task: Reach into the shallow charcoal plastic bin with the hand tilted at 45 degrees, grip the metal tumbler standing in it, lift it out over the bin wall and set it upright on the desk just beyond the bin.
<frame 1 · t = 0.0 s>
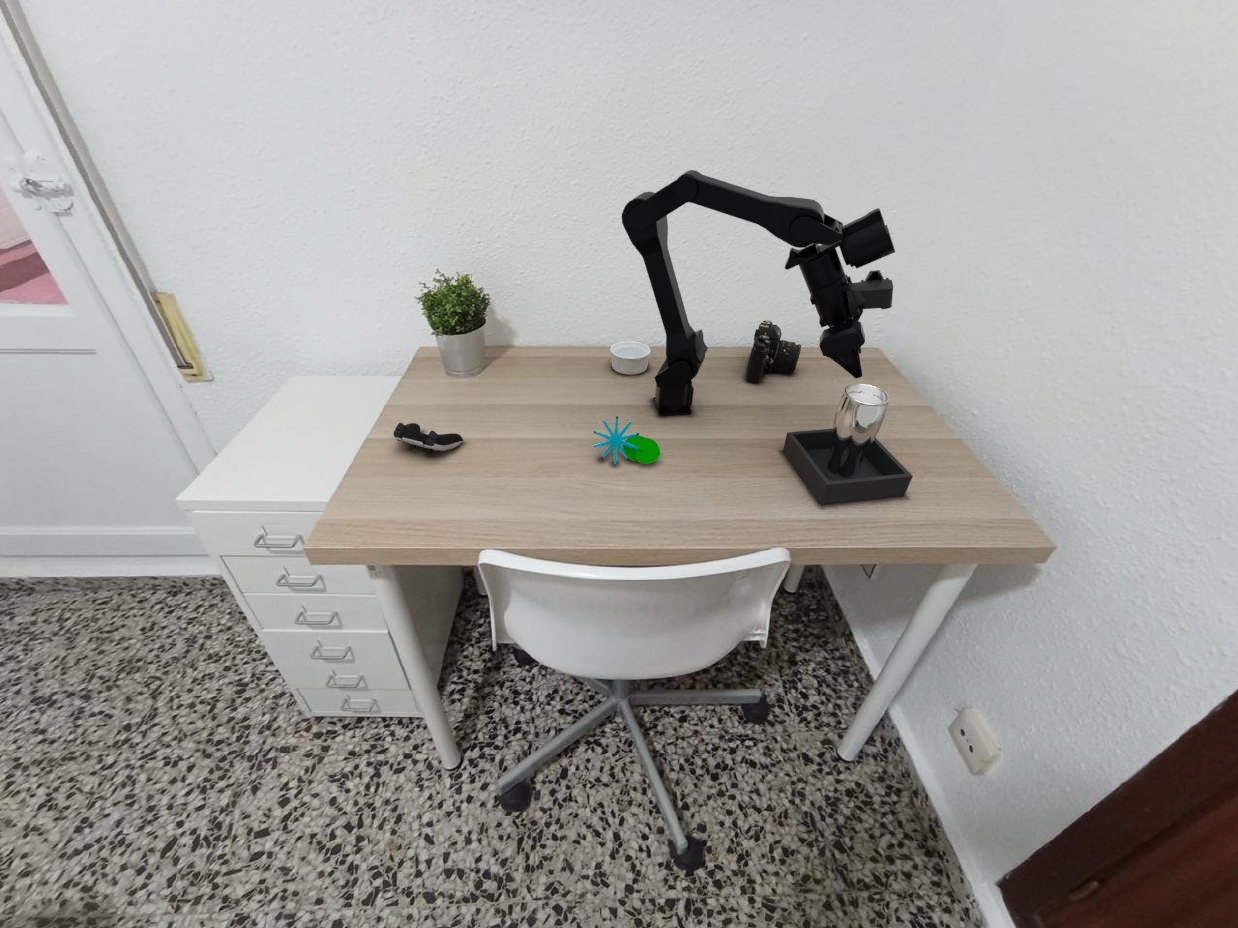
hand: (858, 365, 93), 15 cm above the table, tool tilted 35°, fingers open, 9 cm apart
stick construction toy: (625, 454, 96), on the table
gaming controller: (428, 447, 97), on the table
bin: (840, 473, 93), on the table
metal tumbler: (840, 472, 93), resting on bin
film camera: (768, 369, 124), on the table
ramekin: (629, 368, 123), on the table
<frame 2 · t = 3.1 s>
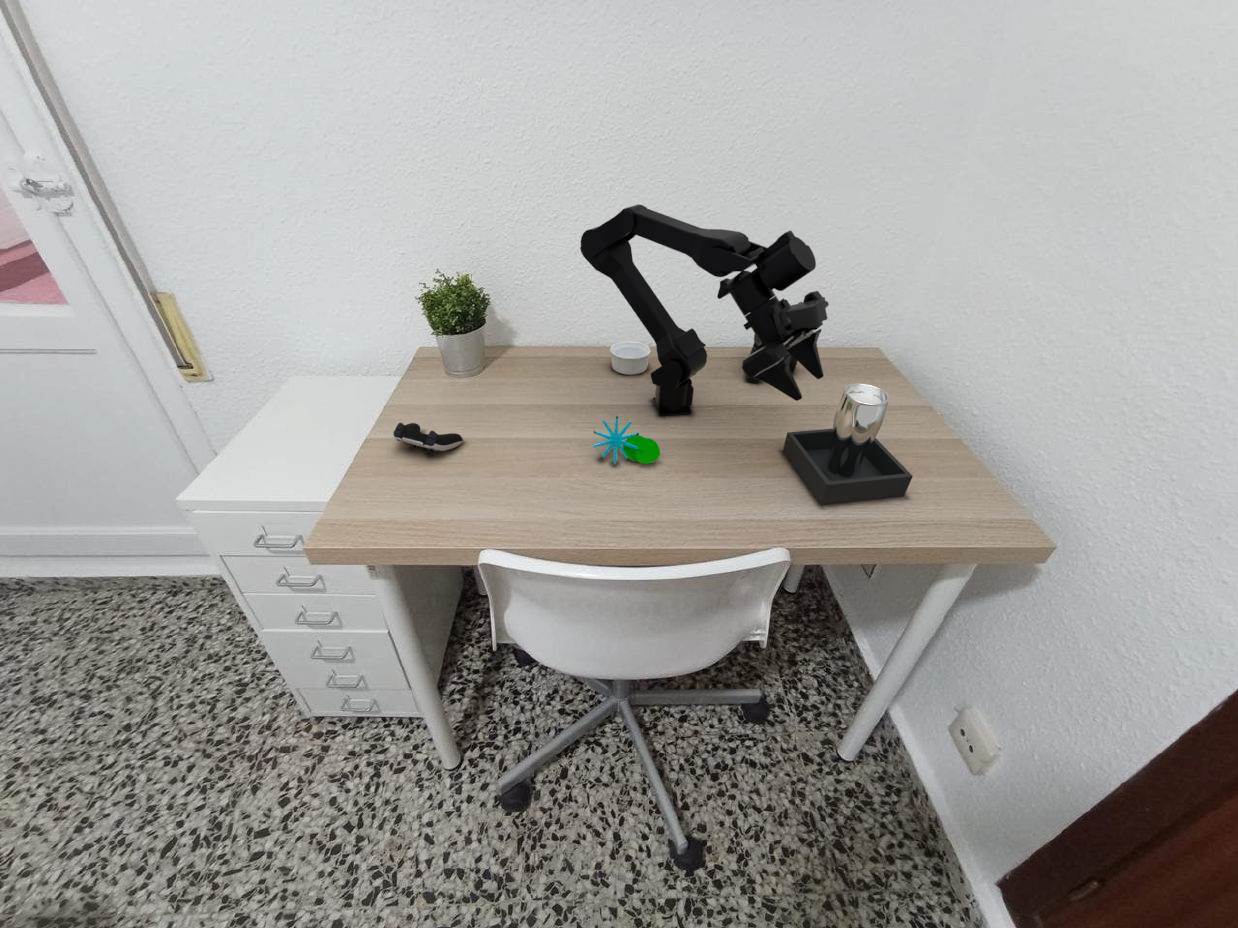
hand: (810, 388, 89), 13 cm above the table, tool tilted 45°, fingers open, 9 cm apart
nothing on the table moved.
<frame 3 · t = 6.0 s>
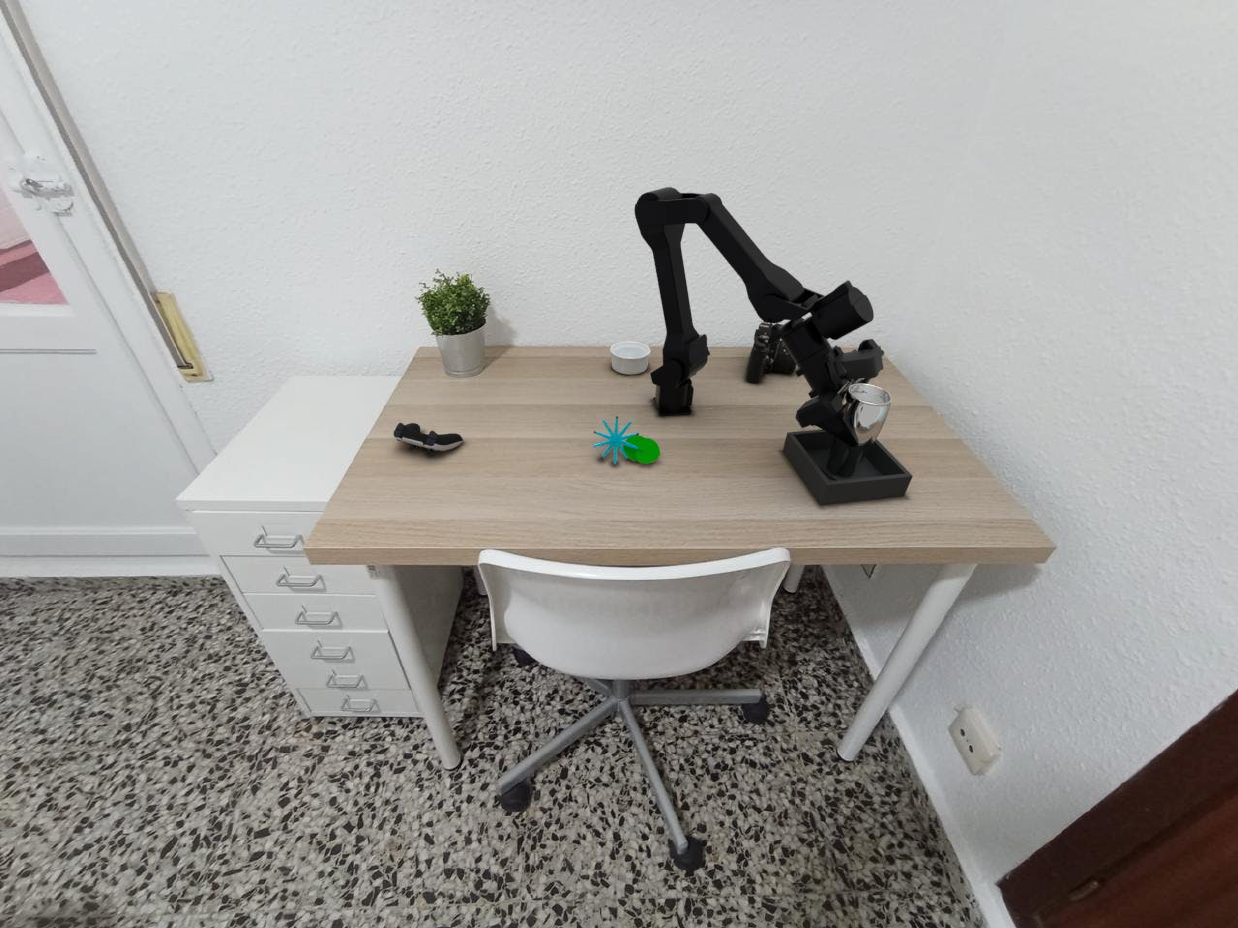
hand: (862, 436, 88), 8 cm above the table, tool tilted 45°, fingers closed on metal tumbler, 7 cm apart
metal tumbler: (840, 471, 93), resting on bin, touching gripper
everything else where it was.
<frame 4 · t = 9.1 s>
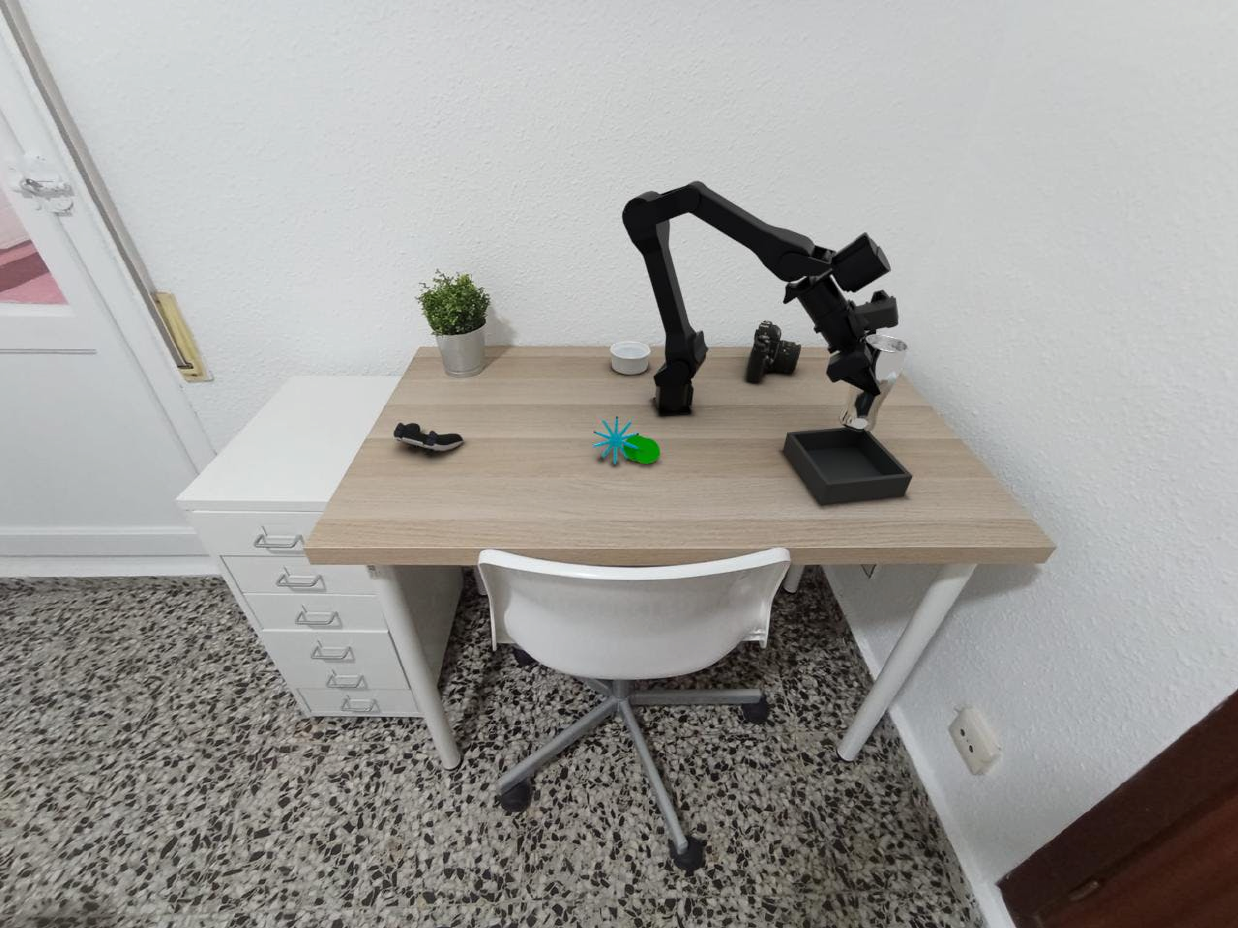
hand: (879, 385, 91), 13 cm above the table, tool tilted 45°, fingers closed on metal tumbler, 7 cm apart
metal tumbler: (855, 423, 96), point 5 cm above the table, touching gripper
everything else where it was.
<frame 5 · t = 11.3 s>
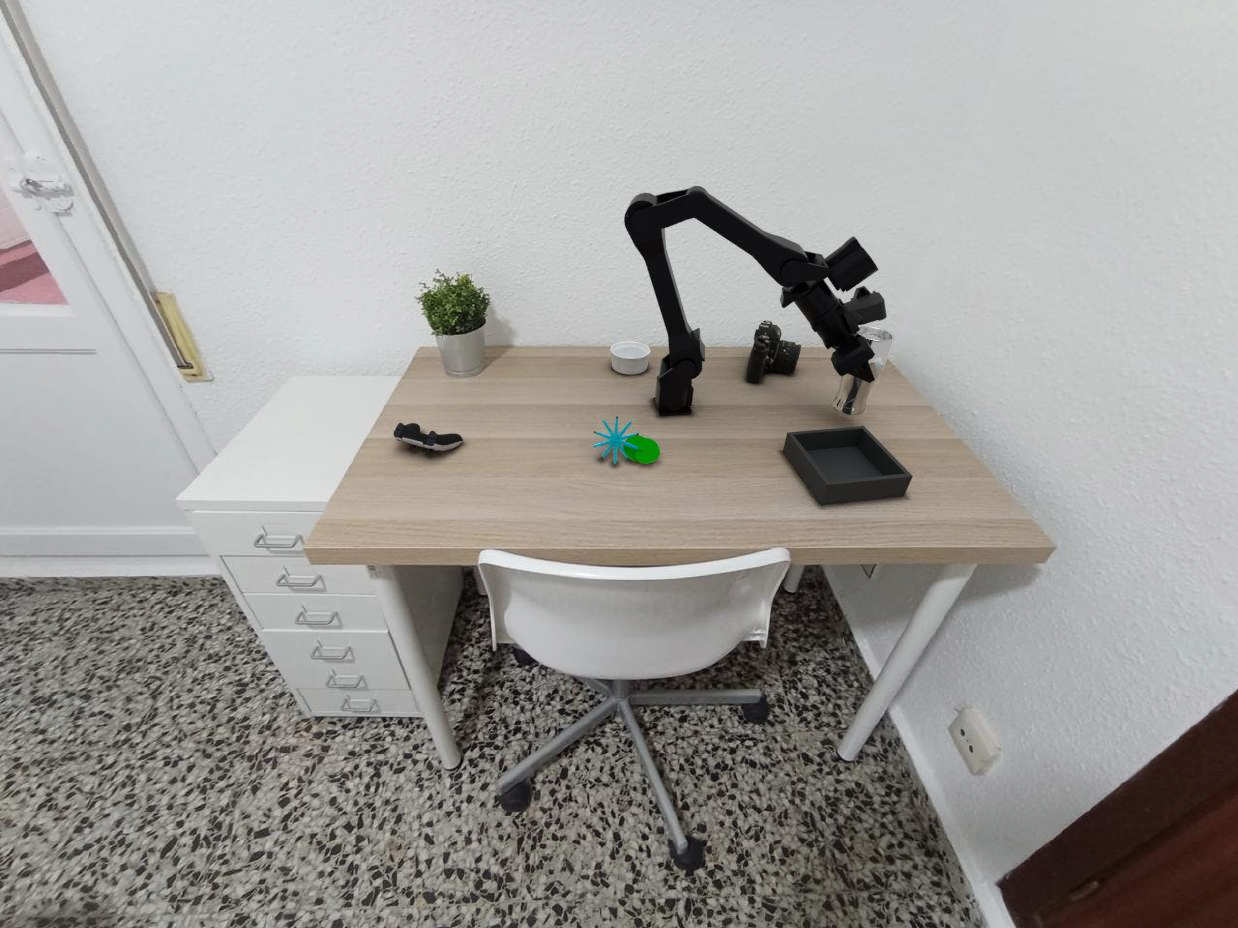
hand: (867, 372, 100), 11 cm above the table, tool tilted 45°, fingers closed on metal tumbler, 7 cm apart
metal tumbler: (847, 408, 104), point 3 cm above the table, touching gripper
everything else where it was.
when the fingers open (8 cm above the table, at t = 12.7 s): metal tumbler stays where it is, on the table.
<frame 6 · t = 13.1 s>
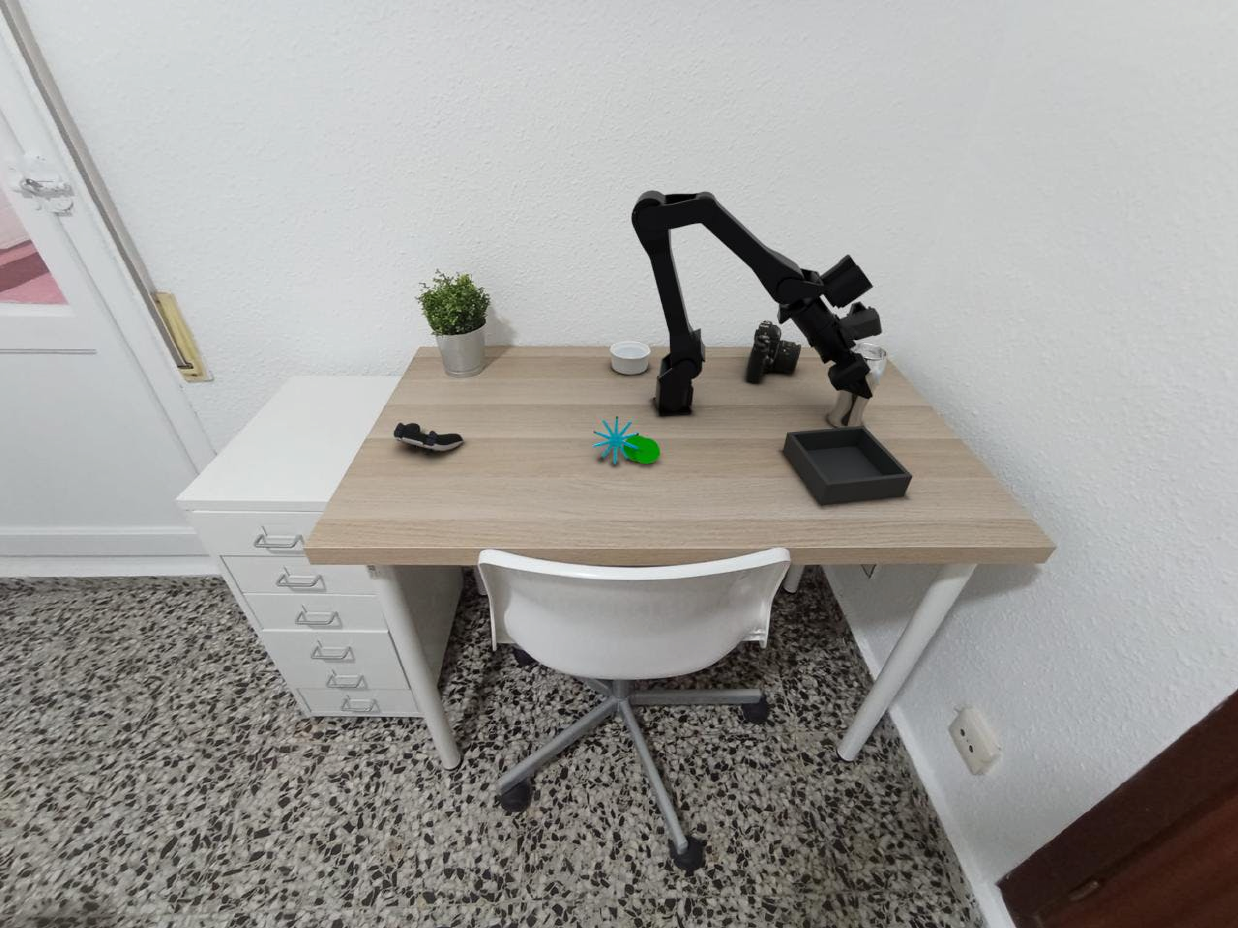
hand: (864, 385, 101), 8 cm above the table, tool tilted 45°, fingers open, 9 cm apart
metal tumbler: (843, 422, 106), on the table, touching gripper
everything else where it was.
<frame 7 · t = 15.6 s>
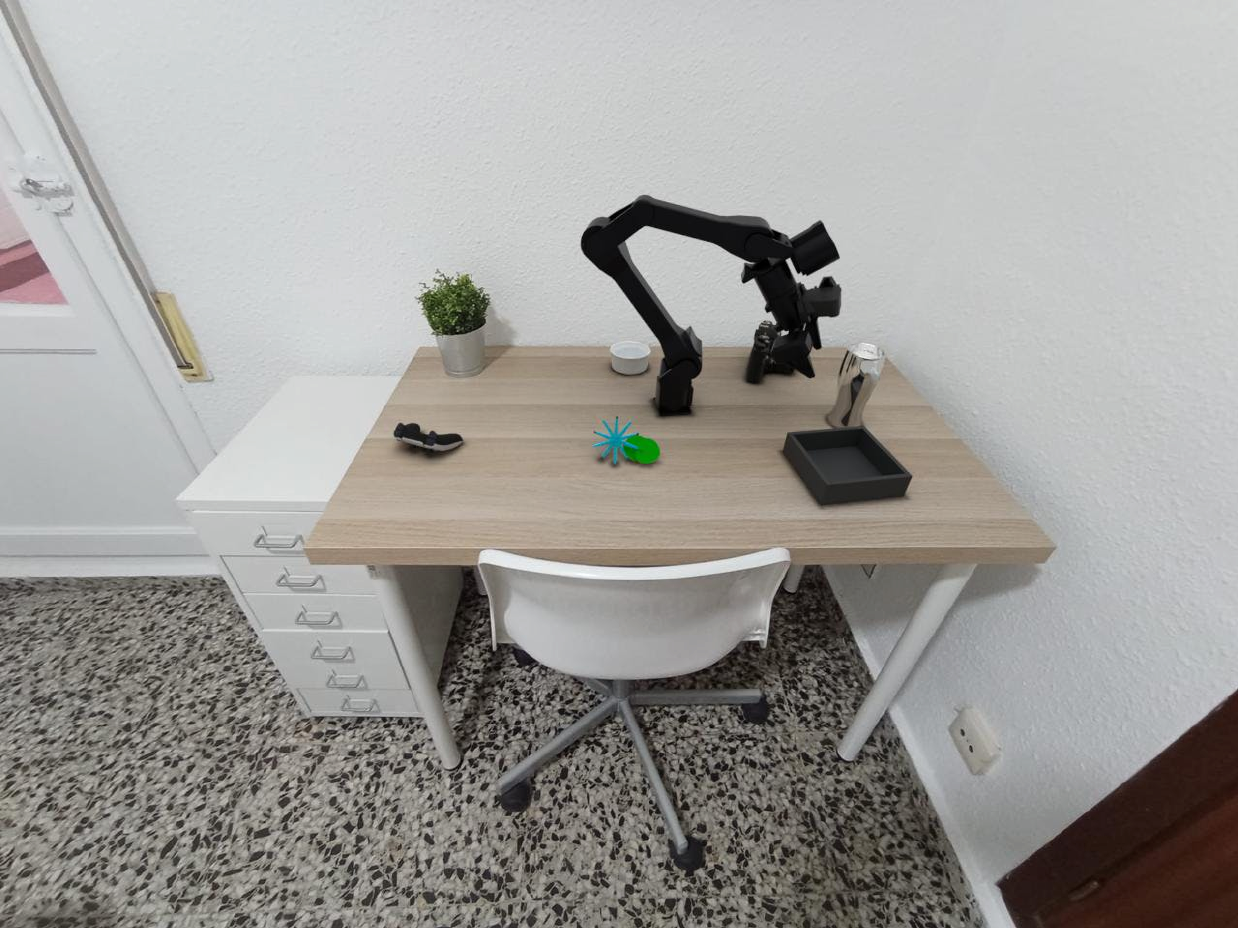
hand: (815, 362, 100), 12 cm above the table, tool tilted 35°, fingers open, 9 cm apart
metal tumbler: (843, 422, 106), on the table
everything else where it was.
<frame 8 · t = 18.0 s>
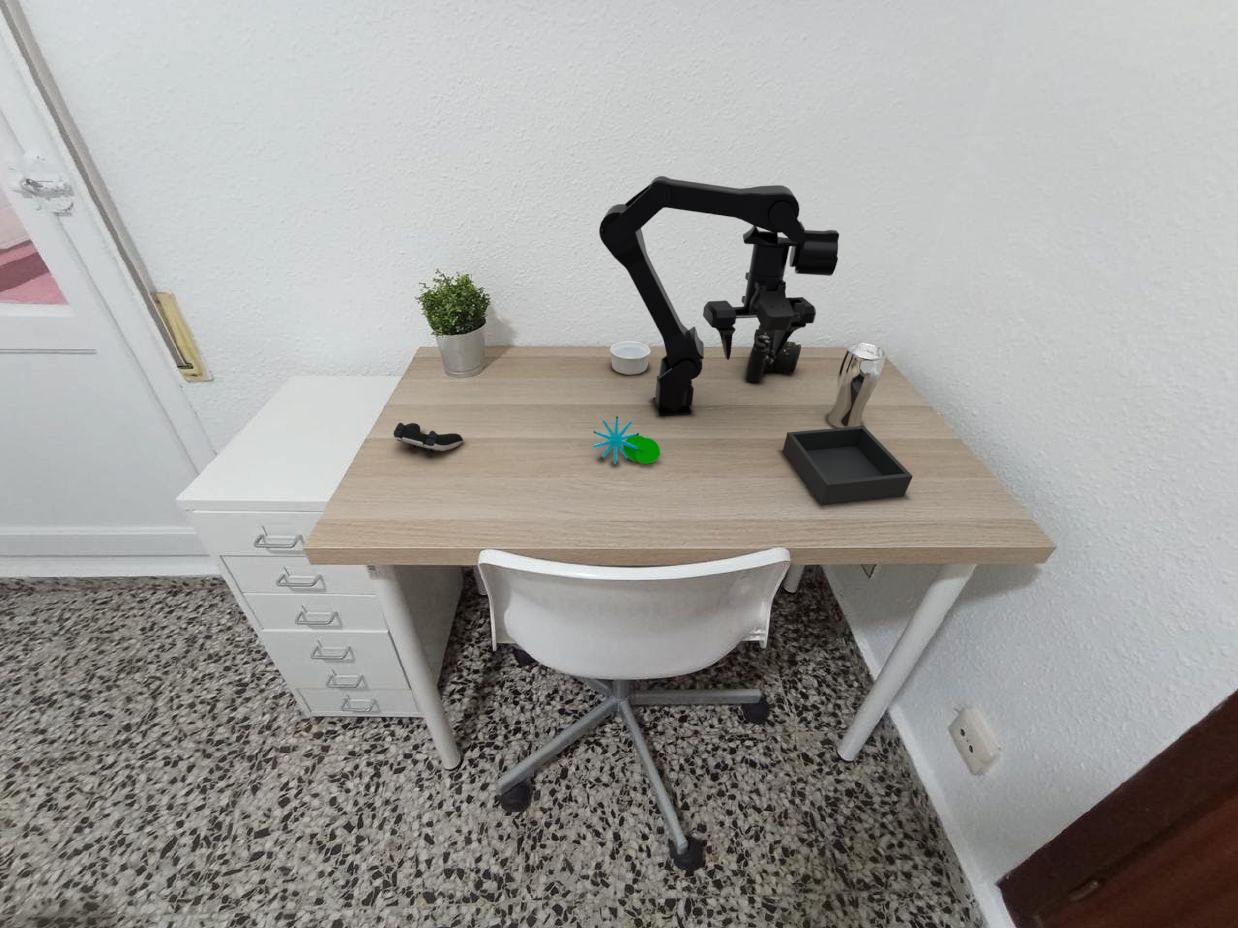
hand: (751, 357, 101), 12 cm above the table, tool pointing down, fingers open, 9 cm apart
nothing on the table moved.
at the end: metal tumbler inside the target area (0.2 cm from its centre), on the table; metal tumbler tilted 0°; metal tumbler touching table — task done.
